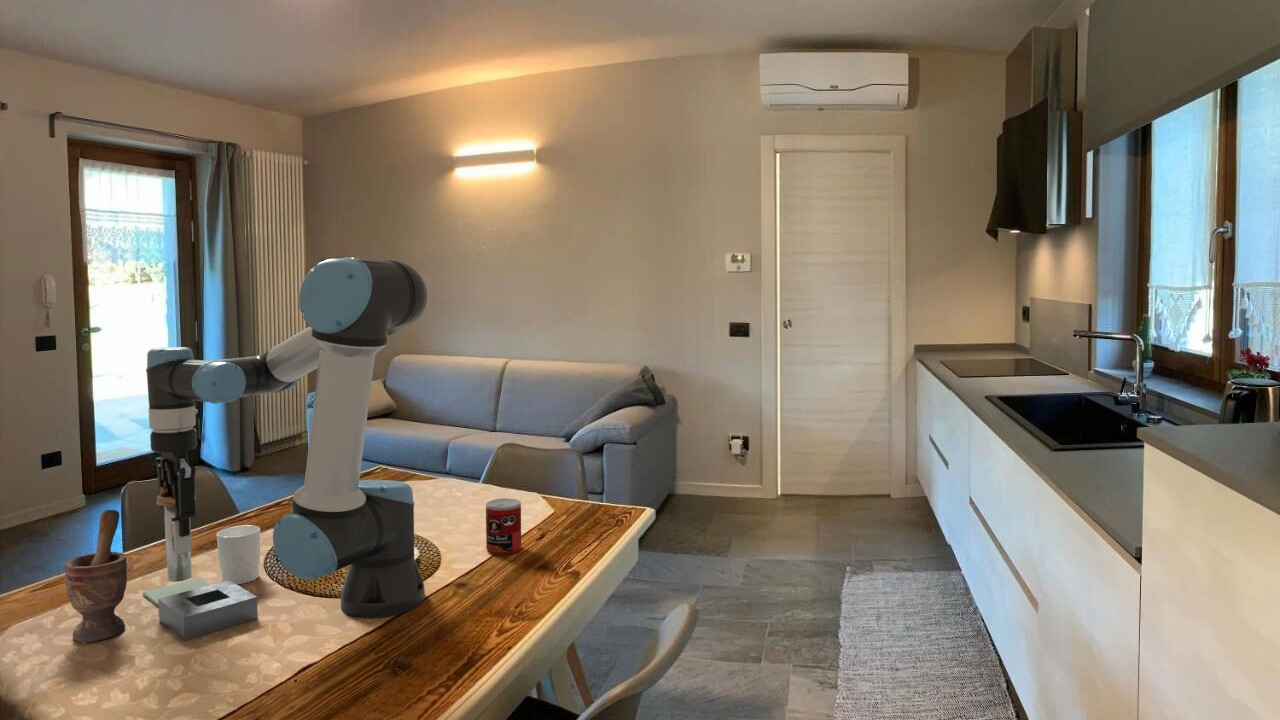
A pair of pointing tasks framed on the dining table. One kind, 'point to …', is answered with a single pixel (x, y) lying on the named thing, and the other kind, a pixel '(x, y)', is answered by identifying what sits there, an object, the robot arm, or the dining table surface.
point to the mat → (174, 589)
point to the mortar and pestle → (98, 585)
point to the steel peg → (176, 563)
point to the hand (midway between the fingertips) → (178, 548)
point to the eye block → (207, 609)
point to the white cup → (239, 553)
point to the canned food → (503, 526)
